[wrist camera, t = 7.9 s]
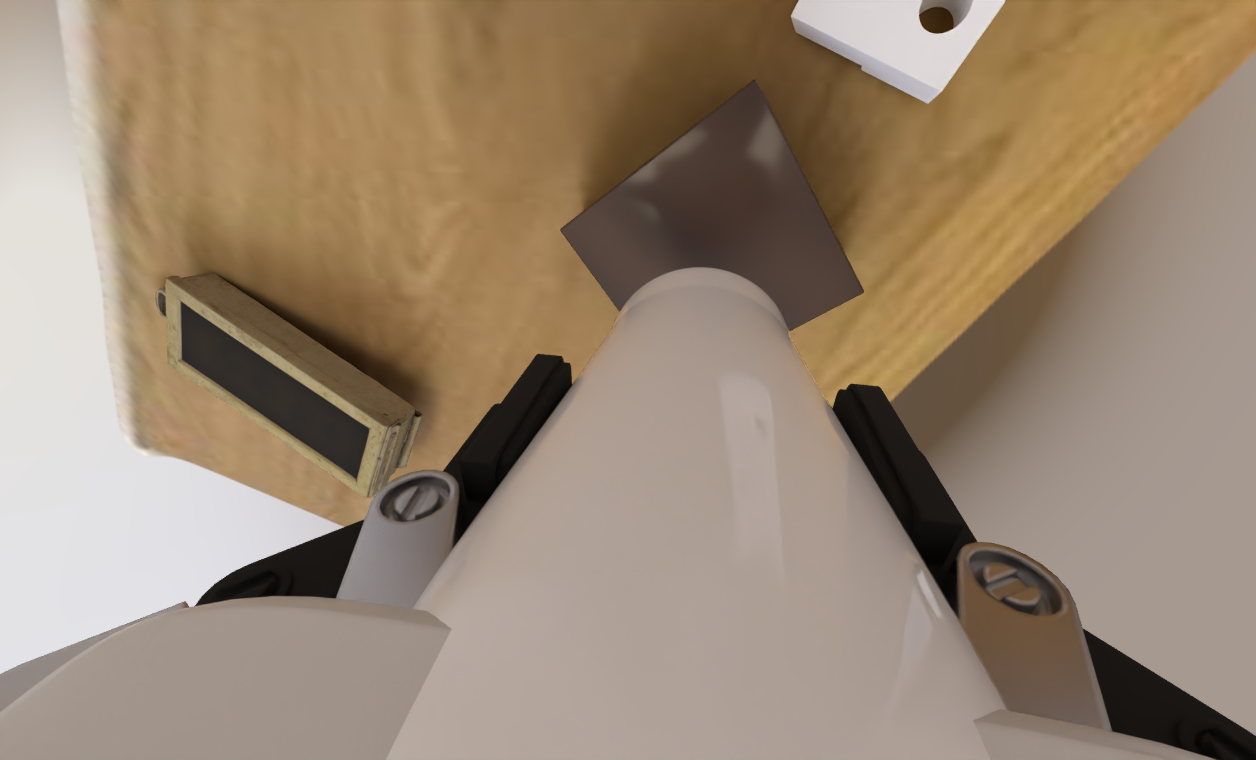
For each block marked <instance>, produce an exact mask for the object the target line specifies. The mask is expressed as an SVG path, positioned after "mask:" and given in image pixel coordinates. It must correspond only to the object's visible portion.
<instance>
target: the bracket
mask: <svg viewBox="0 0 1256 760" xmlns="http://www.w3.org/2000/svg"><path fill="white" fill-rule="evenodd" d="M1005 1H1006V0H799V1H798V3H797V5H796V7H795V9H794V11H793V13H792V15H791V19H792V22H793V25H794V29H795V32H796V33H798V34H800V35H802V36H804V37H806V38H808V39H810V40H812V41H814V42H816V43H818V44H820V45H822V46H824V47H826V48H827V49H829V50H831V51H833V52H835V53H837V54H839V55H841V56H843V57H845V58H847V59H849V60H851V61H853V62H855V63H857V64H859V65H861V66H862V67H861V70H862V71H864V72H866V73H868V74H870V75H872V76H874V77H876V78H878V79H880V80H882V81H884V82H886V83H888V84H890V85H892V86H894V87H896V88H898V89H900V90H902V91H903V92H905V93H907V94H909V95H911V96H913V97H915V98H917V99H919V100H921V101H923V102H925V103H927V104H928V103H929V102H930V101H932V100H933V99H934V98H935V97H936V96H937V95H938V94H940V93H941V92H942V90H943V89H944V88H945V86H946V85H947V83H948V82H949V80H950V79H951V78H952V76H953V75H954V73H955V72H956V71H957V69H958V68H959V66H960V65H961V63H962V62H963V61H964V59H965V58H966V56H967V55H968V54H969V52H970V51H971V49H972V48H973V46H974V45H975V44H976V42H977V41H978V39H979V38H980V37H981V35H982V34H983V32H984V31H985V29H986V28H987V27H988V25H989V24H990V22H991V21H992V20H993V18H994V17H995V15H996V14H997V12H998V11H999V10H1000V8H1001V7H1002V5H1003V4H1004V3H1005ZM933 7H943V8H945V9H947V10H948V11H949V12H950V13H951V14H952V16H953V20H954V27H953V29H952V30H950V31H948V32H945V33H940V34H934V33H930V32H928V31H926V30H925V29H924V28H923V27H922V25H921V23H920V20H919V14H921V13H922V12H923V11H925V10H927V9H929V8H933Z"/></svg>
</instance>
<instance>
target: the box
mask: <svg viewBox="0 0 1256 760" xmlns="http://www.w3.org/2000/svg"><path fill="white" fill-rule="evenodd" d="M165 283H166V287H164V288H160V289H157V291H156V298H155V299H156V305H157V309H158V311H159V313H160V314H161V316H162V317H163V318H164V319H166V320H167V350H168V364H169V365H171V366H172V367H174V368H175V369H176V370H178V371H179V372H181V373H182V374H184V375H185V376H187V377H188V378H190V379H191V380H193V381H194V382H196V383H197V384H199V385H200V386H202V387H203V388H205V389H206V390H208V391H209V392H211V393H212V394H214V395H215V396H217V397H218V398H220V399H221V400H223V401H224V402H226V403H227V404H229V405H230V406H232V407H233V408H235V409H236V410H238V411H239V412H240V413H242V414H243V415H245V416H246V417H248V418H249V419H251V420H252V421H254V422H255V423H257V424H258V425H260V426H261V427H263V428H264V429H265V430H267V431H268V432H270V433H271V434H273V435H274V436H276V437H277V438H278V439H280V440H281V441H283V442H284V443H286V444H287V445H289V446H290V447H292V448H293V449H294V450H296V451H297V452H299V453H300V454H302V455H303V456H305V457H306V458H308V459H309V460H311V461H312V462H314V463H315V464H316V465H318V466H319V467H321V468H323V469H324V470H326V471H327V472H329V473H330V474H331V475H333V476H334V477H336V478H337V479H339V480H340V481H341V482H343V483H344V484H346V485H347V486H349V487H350V488H352V489H353V490H355V491H356V492H358V493H359V494H360V495H362V496H363V497H365V498H371V497H372V496H374V495H375V494H376V493H377V492H378V491H379V490H380V489H381V488H382V487H384V486H385V485H386V484H387V482H388V480H389V477H390V476H391V475H392V474H393V473H395V471H396V469H397V468H404V467H406V465H407V461H408V458H409V455H410V452H411V449H412V446H413V443H414V440H415V437H416V434H417V431H418V428H419V425H420V422H421V419H422V413H420V412H419V411H417V410H416V409H415V408H414V407H413V406H411V405H410V404H409V403H407V402H406V401H404V400H403V399H402V398H400V397H399V396H397V395H396V394H394V393H393V392H391V391H390V390H388V389H387V388H385V387H384V386H382V385H381V384H380V383H378V382H377V381H375V380H374V379H372V378H371V377H369V376H367V375H366V374H364V373H363V372H361V371H359V370H358V369H357V368H355V367H354V366H352V365H351V364H350V363H348V362H347V361H345V360H343V359H341V358H340V357H338V356H337V355H336V354H334V353H333V352H331V351H330V350H328V349H327V348H325V347H324V346H322V345H321V344H319V343H318V342H316V341H315V340H313V339H312V338H310V337H309V336H307V335H306V334H304V333H303V332H301V331H300V330H298V329H297V328H295V327H294V326H292V325H291V324H290V323H288V322H287V321H285V320H284V319H282V318H281V317H279V316H278V315H276V314H275V313H273V312H272V311H270V310H269V309H267V308H266V307H264V306H263V305H261V304H260V303H258V302H257V301H255V300H254V299H252V298H251V297H249V296H248V295H246V294H244V293H243V292H241V291H240V290H238V289H237V288H235V287H234V286H232V285H231V284H229V283H228V282H226V281H225V280H223V279H222V278H220V277H219V276H217V275H216V274H214V273H209V274H203V275H196V276H190V277H184V278H180V277H179V276H170V277H168V278H165Z"/></svg>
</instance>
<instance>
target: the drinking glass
mask: <svg viewBox="0 0 1256 760" xmlns="http://www.w3.org/2000/svg"><path fill="white" fill-rule="evenodd" d="M411 609H418V610H424V611H428V612H429V613H431V614H432V615H434V616H435V617H437V618H438V619H439V620H440V621H441V622H443V623H445V624H446V625H447V626H448V627H450V628H451V629H452V630H451V632H450V634H449V636H448V638H447V639H446V641H445V643H444V645H443V647H442V649H441V651H440V653H439V655H438V657H437V659H436V661H435V663H434V665H433V667H432V669H431V671H430V673H429V675H428V677H427V679H426V681H425V683H424V685H423V686H422V688H421V690H420V692H419V694H418V696H417V698H416V700H415V702H414V704H413V706H412V708H411V710H410V712H409V714H408V716H407V718H406V720H405V722H404V724H403V726H402V728H401V730H400V732H399V734H398V736H397V738H396V740H395V742H394V744H393V746H392V748H391V750H390V752H389V754H388V756H387V758H386V760H990V758H989V755H988V753H987V751H986V749H985V746H984V744H983V742H982V739H981V737H980V735H979V733H978V730H977V728H976V726H975V723H974V721H973V720H975V719H978V718H980V717H983V716H985V715H987V714H989V713H991V712H994V711H997V710H999V709H1002V710H1007V711H1011V710H1010V708H1009V707H1008V705H1007V703H1006V701H1005V699H1004V698H1003V696H1002V694H1001V692H1000V691H999V689H998V687H997V685H996V683H995V682H994V680H993V678H992V676H991V675H990V673H989V671H988V669H987V667H986V666H985V664H984V662H983V660H982V659H981V657H980V655H979V653H978V651H977V650H976V648H975V646H974V644H973V643H972V641H971V639H970V637H969V636H968V634H967V632H966V631H965V629H964V627H963V626H962V624H961V622H960V620H959V619H958V617H957V615H956V614H955V612H954V610H953V609H952V607H951V605H950V603H949V602H948V600H947V598H946V597H945V595H944V593H943V592H942V590H941V588H940V587H939V585H938V583H937V581H936V580H935V578H934V576H933V575H932V573H931V571H930V570H929V568H928V566H927V565H926V563H925V561H924V560H923V558H922V556H921V555H920V553H919V551H918V550H917V548H916V546H915V545H914V543H913V541H912V540H911V538H910V536H909V535H908V533H907V531H906V530H905V528H904V527H903V525H902V523H901V522H900V520H899V518H898V517H897V515H896V513H895V512H894V510H893V508H892V507H891V505H890V503H889V502H888V500H887V498H886V497H885V495H884V493H883V492H882V490H881V488H880V487H879V485H878V484H877V482H876V480H875V479H874V477H873V475H872V474H871V472H870V470H869V469H868V467H867V465H866V464H865V462H864V460H863V459H862V457H861V455H860V454H859V452H858V451H857V449H856V447H855V446H854V444H853V442H852V441H851V439H850V437H849V436H848V434H847V432H846V431H845V429H844V427H843V426H842V424H841V422H840V421H839V419H838V417H837V416H836V414H835V412H834V411H833V409H832V407H831V406H830V404H829V402H828V401H827V399H826V397H825V395H824V394H823V392H822V390H821V389H820V387H819V385H818V384H817V382H816V380H815V379H814V377H813V375H812V373H811V372H810V370H809V368H808V367H807V365H806V363H805V361H804V360H803V358H802V356H801V355H800V353H799V351H798V349H797V348H796V346H795V344H794V342H793V340H792V337H791V335H790V332H789V329H788V327H787V324H786V321H785V319H784V317H783V315H782V313H781V312H780V310H779V309H778V307H777V306H776V304H775V303H774V301H773V300H772V299H771V298H770V297H769V296H768V295H767V294H766V293H765V292H764V291H763V290H762V289H761V288H759V287H758V286H757V285H756V284H754V283H753V282H751V281H749V280H748V279H746V278H744V277H742V276H740V275H738V274H735V273H732V272H729V271H725V270H722V269H716V268H708V267H692V268H684V269H679V270H675V271H671V272H668V273H665V274H663V275H661V276H659V277H656V278H655V279H653V280H651V281H649V282H648V283H646V284H645V285H644V286H642V287H641V288H640V289H638V290H637V291H636V292H635V293H634V294H633V295H632V296H631V297H630V298H629V299H628V301H627V302H626V303H625V305H624V306H623V307H622V309H621V310H620V312H619V314H618V316H617V317H616V319H615V321H614V324H613V326H612V328H611V330H610V332H609V334H608V335H607V336H606V338H605V339H604V341H603V342H602V344H601V345H600V346H599V348H598V349H597V351H596V352H595V354H594V355H593V356H592V358H591V359H590V361H589V362H588V363H587V365H586V366H585V368H584V369H583V370H582V372H581V373H580V375H579V376H578V377H577V379H576V380H575V382H574V383H573V384H572V386H571V387H570V388H569V390H568V391H567V393H566V394H565V395H564V397H563V398H562V399H561V401H560V402H559V404H558V405H557V406H556V408H555V409H554V410H553V412H552V413H551V415H550V416H549V417H548V419H547V420H546V421H545V423H544V424H543V426H542V427H541V428H540V430H539V431H538V432H537V434H536V435H535V436H534V438H533V439H532V441H531V442H530V443H529V445H528V446H527V447H526V449H525V450H524V451H523V453H522V454H521V456H520V457H519V458H518V460H517V461H516V462H515V464H514V465H513V466H512V468H511V469H510V470H509V472H508V473H507V475H506V476H505V477H504V479H503V480H502V481H501V483H500V484H499V486H498V487H497V488H496V490H495V491H494V492H493V494H492V495H491V496H490V498H489V499H488V501H487V502H486V503H485V505H484V506H483V507H482V509H481V510H480V511H479V513H478V514H477V516H476V517H475V518H474V520H473V521H472V522H471V524H470V525H469V527H468V528H467V529H466V531H465V532H464V534H463V535H462V536H461V538H460V539H459V540H458V542H457V543H456V545H455V546H454V547H453V549H452V550H451V552H450V553H449V554H448V556H447V557H446V559H445V560H444V561H443V563H442V564H441V566H440V567H439V568H438V570H437V571H436V573H435V574H434V575H433V577H432V578H431V580H430V581H429V583H428V584H427V586H426V587H425V589H424V590H423V591H422V593H421V594H420V596H419V597H418V599H417V600H416V602H415V603H414V605H413V606H412V608H411Z"/></svg>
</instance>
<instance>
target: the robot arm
mask: <svg viewBox="0 0 1256 760" xmlns="http://www.w3.org/2000/svg"><path fill="white" fill-rule="evenodd" d="M571 386H572V376H571V365H570V363H565V362H564V361H563V358H562V356H555V355H544V354H537V355H536V356H535V358H534V359H533V360H532V362H531V363H530V365H529V366H528V367H527V369H526V370H525V371H524V373H523V374H522V375H521V377H520V378H519V379H518V381H517V382H516V384H515V385H514V386H513V388H512V389H511V390H510V392H509V393H508V394H507V396H506V397H505V398H504V400H503V401H502V403H501V404H495V405H494V406H492V407H491V409H490V410H489V411H488V413H487V414H486V415H485V416H484V418H483V419H482V420H481V422H480V423H479V424H478V426H477V427H476V428H475V430H474V431H473V432H472V434H471V435H470V436H469V438H468V439H467V440H466V442H465V443H464V444H463V445H462V447H461V448H460V449H459V451H458V452H457V453H456V455H455V456H454V457H453V459H452V460H451V461H450V463H449V464H448V465H447V467H446V468H445V469H444V471H438V470H421V471H416V472H411V473H408V474H405V475H403V476H400V477H397V478H396V479H394V480H392V481H391V482H389V483H387V484H386V485H385V486H384V487H382V488H381V489H380V490H379V491H378V492H377V493H376V495H375V496H374V498H373V500H372V502H371V504H370V506H369V509H368V512H367V515H366V517H365V519H364V520H362V521H359V522H357V523H354V524H351V525H349V526H346V527H344V528H341V529H339V530H336V531H333V532H331V533H328V534H326V535H323V536H321V537H318V538H315V539H313V540H310V541H308V542H305V543H303V544H300V545H298V546H295V547H292V548H290V549H287V550H285V551H282V552H279V553H277V554H274V555H272V556H269V557H267V558H264V559H261V560H259V561H256V562H254V563H251V564H249V565H247V566H244V567H242V568H240V569H238V570H236V571H234V572H232V573H230V574H229V575H227V576H226V577H225V578H223V579H221V580H220V581H219V582H217V583H216V584H214V585H213V586H212V587H211V588H210V589H209V590H208V591H207V592H206V593H205V594H204V595H203V596H202V597H201V599H200V600H199V601H198V603H197V604H196V605H195V606H194V607H189V606H188V604H187V603H186V602H182V603H179V604H177V605H175V606H172V607H169V608H167V609H164V610H161V611H159V612H156V613H153V614H151V615H148V616H146V617H143V618H140V619H138V620H135V621H133V622H130V623H127V624H125V625H122V626H120V627H117V628H114V629H112V630H109V631H106V632H104V633H101V634H99V635H96V636H93V637H91V638H88V639H86V640H83V641H81V642H78V643H75V644H73V645H70V646H67V647H65V648H62V649H60V650H57V651H55V652H52V653H49V654H47V655H44V656H41V657H39V658H36V659H34V660H31V661H28V662H26V663H23V664H21V665H18V666H16V667H14V668H12V669H10V670H8V671H6V672H4V673H2V674H0V760H386V758H387V756H388V754H389V752H390V750H391V748H392V746H393V744H394V742H395V740H396V738H397V736H398V734H399V732H400V730H401V728H402V726H403V724H404V722H405V720H406V718H407V716H408V714H409V712H410V710H411V708H412V706H413V704H414V702H415V700H416V698H417V696H418V694H419V692H420V690H421V688H422V686H423V685H424V683H425V681H426V679H427V677H428V675H429V673H430V671H431V669H432V667H433V665H434V663H435V661H436V659H437V657H438V655H439V653H440V651H441V649H442V647H443V645H444V643H445V641H446V639H447V638H448V636H449V634H450V632H451V630H452V629H451V628H450V627H448V626H447V625H446V624H445V623H443V622H441V621H440V620H439V619H438V618H437V617H435V616H434V615H432V614H431V613H429V612H428V611H424V610H418V609H411V608H412V606H413V605H414V603H415V602H416V600H417V599H418V597H419V596H420V594H421V593H422V591H423V590H424V589H425V587H426V586H427V584H428V583H429V581H430V580H431V578H432V577H433V575H434V574H435V573H436V571H437V570H438V568H439V567H440V566H441V564H442V563H443V561H444V560H445V559H446V557H447V556H448V554H449V553H450V552H451V550H452V549H453V547H454V546H455V545H456V543H457V542H458V540H459V539H460V538H461V536H462V535H463V534H464V532H465V531H466V529H467V528H468V527H469V525H470V524H471V522H472V521H473V520H474V518H475V517H476V516H477V514H478V513H479V511H480V510H481V509H482V507H483V506H484V505H485V503H486V502H487V501H488V499H489V498H490V496H491V495H492V494H493V492H494V491H495V490H496V488H497V487H498V486H499V484H500V483H501V481H502V480H503V479H504V477H505V476H506V475H507V473H508V472H509V470H510V469H511V468H512V466H513V465H514V464H515V462H516V461H517V460H518V458H519V457H520V456H521V454H522V453H523V451H524V450H525V449H526V447H527V446H528V445H529V443H530V442H531V441H532V439H533V438H534V436H535V435H536V434H537V432H538V431H539V430H540V428H541V427H542V426H543V424H544V423H545V421H546V420H547V419H548V417H549V416H550V415H551V413H552V412H553V410H554V409H555V408H556V406H557V405H558V404H559V402H560V401H561V399H562V398H563V397H564V395H565V394H566V393H567V391H568V390H569V388H570V387H571ZM833 411H834V412H835V414H836V416H837V417H838V419H839V421H840V422H841V424H842V426H843V427H844V429H845V431H846V432H847V434H848V436H849V437H850V439H851V441H852V442H853V444H854V446H855V447H856V449H857V451H858V452H859V454H860V455H861V457H862V459H863V460H864V462H865V464H866V465H867V467H868V469H869V470H870V472H871V474H872V475H873V477H874V479H875V480H876V482H877V484H878V485H879V487H880V488H881V490H882V492H883V493H884V495H885V497H886V498H887V500H888V502H889V503H890V505H891V507H892V508H893V510H894V512H895V513H896V515H897V517H898V518H899V520H900V522H901V523H902V525H903V527H904V528H905V530H906V531H907V533H908V535H909V536H910V538H911V540H912V541H913V543H914V545H915V546H916V548H917V550H918V551H919V553H920V555H921V556H922V558H923V560H924V561H925V563H926V565H927V566H928V568H929V570H930V571H931V573H932V575H933V576H934V578H935V580H936V581H937V583H938V585H939V587H940V588H941V590H942V592H943V593H944V595H945V597H946V598H947V600H948V602H949V603H950V605H951V607H952V609H953V610H954V612H955V614H956V615H957V617H958V619H959V620H960V622H961V624H962V626H963V627H964V629H965V631H966V632H967V634H968V636H969V637H970V639H971V641H972V643H973V644H974V646H975V648H976V650H977V651H978V653H979V655H980V657H981V659H982V660H983V662H984V664H985V666H986V667H987V669H988V671H989V673H990V675H991V676H992V678H993V680H994V682H995V683H996V685H997V687H998V689H999V691H1000V692H1001V694H1002V696H1003V698H1004V699H1005V701H1006V703H1007V705H1008V707H1009V708H1010V710H1011V711H1007V710H1002V709H999V710H997V711H994V712H991V713H989V714H987V715H985V716H983V717H980V718H978V719H975V720H973V721H974V723H975V726H976V728H977V730H978V733H979V735H980V737H981V739H982V742H983V744H984V746H985V749H986V751H987V753H988V755H989V758H990V760H1256V736H1255V735H1253V734H1252V733H1250V732H1249V731H1247V730H1246V729H1244V728H1243V727H1241V726H1239V725H1238V724H1236V723H1234V722H1233V721H1231V720H1230V719H1228V718H1226V717H1225V716H1223V715H1222V714H1220V713H1218V712H1217V711H1215V710H1214V709H1212V708H1210V707H1209V706H1207V705H1205V704H1204V703H1202V702H1201V701H1199V700H1197V699H1196V698H1194V697H1193V696H1190V695H1189V694H1188V693H1186V692H1185V691H1183V690H1181V689H1180V688H1178V687H1176V686H1175V685H1173V684H1172V683H1170V682H1168V681H1167V680H1165V679H1163V678H1162V677H1160V676H1159V675H1157V674H1155V673H1154V672H1152V671H1151V670H1149V669H1147V668H1146V667H1144V666H1143V665H1141V664H1139V663H1138V662H1136V661H1135V660H1133V659H1131V658H1130V657H1128V656H1126V655H1125V654H1123V653H1122V652H1120V651H1118V650H1117V649H1115V648H1114V647H1112V646H1110V645H1109V644H1107V643H1106V642H1104V641H1102V640H1101V639H1099V638H1097V637H1096V636H1094V635H1093V634H1091V633H1089V632H1088V631H1086V630H1085V629H1083V628H1082V625H1081V621H1080V618H1079V614H1078V611H1077V608H1076V604H1075V602H1074V600H1073V598H1072V596H1071V594H1070V592H1069V590H1068V589H1067V588H1066V586H1065V585H1064V584H1063V583H1062V582H1061V581H1060V579H1059V578H1058V577H1057V576H1055V575H1054V574H1053V573H1052V572H1051V571H1049V570H1048V569H1047V568H1046V567H1044V566H1043V565H1042V564H1040V563H1039V562H1037V561H1035V560H1034V559H1032V558H1030V557H1028V556H1027V555H1025V554H1023V553H1021V552H1018V551H1016V550H1014V549H1011V548H1009V547H1006V546H1002V545H998V544H994V543H985V542H977V540H976V539H975V537H974V536H973V534H972V532H971V531H970V529H969V527H968V526H967V524H966V522H965V521H964V519H963V518H962V516H961V514H960V513H959V511H958V510H957V508H956V506H955V505H954V503H953V501H952V500H951V498H950V497H949V495H948V494H947V492H946V490H945V488H944V487H943V485H942V484H941V482H940V481H939V479H938V477H937V475H936V474H935V472H934V471H933V469H932V467H931V466H930V464H929V463H928V461H927V459H926V458H925V456H924V455H923V454H922V453H921V452H920V451H919V450H918V448H917V447H916V445H915V443H914V442H913V440H912V438H911V437H910V435H909V433H908V432H907V430H906V429H905V427H904V425H903V424H902V422H901V420H900V419H899V417H898V416H897V414H896V412H895V411H894V409H893V407H892V406H891V404H890V402H889V401H888V399H887V397H886V396H885V394H884V392H883V391H882V389H881V388H880V387H879V386H869V385H859V384H850V385H849V386H848V387H847V389H846V390H843V389H840V390H839V391H838V393H837V396H836V399H835V402H834V406H833Z"/></svg>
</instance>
